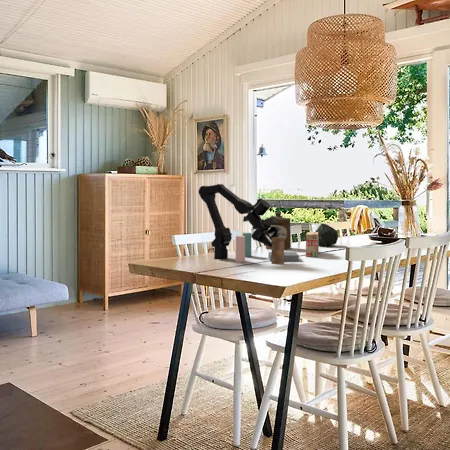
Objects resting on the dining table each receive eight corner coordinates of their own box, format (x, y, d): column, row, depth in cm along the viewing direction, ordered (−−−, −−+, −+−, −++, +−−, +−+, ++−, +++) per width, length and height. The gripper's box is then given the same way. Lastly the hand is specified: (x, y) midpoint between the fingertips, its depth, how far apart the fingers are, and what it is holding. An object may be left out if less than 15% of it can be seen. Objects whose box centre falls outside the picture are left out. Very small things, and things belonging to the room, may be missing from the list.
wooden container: (262, 249, 324) (262, 212, 323) (270, 246, 338) (270, 211, 336) (286, 250, 319) (286, 212, 317) (293, 247, 332) (293, 211, 331)
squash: (345, 237, 342) (330, 218, 346) (337, 240, 329) (321, 221, 333) (329, 251, 348) (314, 232, 352) (320, 254, 336) (305, 235, 340)
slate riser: (270, 261, 271) (270, 255, 271) (268, 257, 285) (268, 252, 285) (298, 261, 271) (298, 255, 271) (295, 257, 285) (295, 252, 285)
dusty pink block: (235, 262, 269) (235, 236, 268) (235, 260, 274) (235, 236, 273) (244, 262, 269) (245, 236, 268) (244, 260, 274) (244, 236, 273)
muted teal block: (242, 256, 289) (242, 233, 288) (242, 255, 294) (242, 232, 293) (251, 256, 289) (251, 233, 288) (251, 255, 294) (251, 232, 293)
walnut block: (271, 263, 264) (271, 237, 263) (276, 262, 268) (276, 237, 267) (279, 264, 261) (279, 238, 260) (284, 263, 265) (284, 237, 264)
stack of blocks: (307, 252, 310) (307, 230, 309) (318, 252, 309) (318, 230, 308) (305, 257, 289) (305, 233, 288) (317, 257, 288) (318, 234, 287)
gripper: (256, 211, 259) (277, 235, 253) (276, 210, 274) (295, 232, 268) (242, 227, 263) (262, 251, 258) (262, 225, 279) (281, 248, 273)
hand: (276, 245), depth 264 cm, fingers open, 9 cm apart
